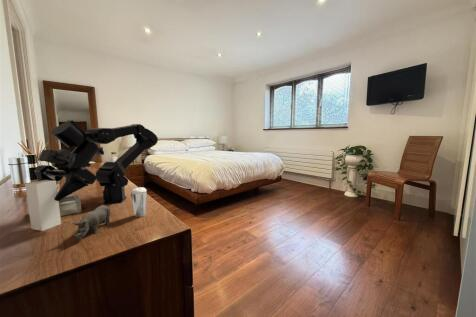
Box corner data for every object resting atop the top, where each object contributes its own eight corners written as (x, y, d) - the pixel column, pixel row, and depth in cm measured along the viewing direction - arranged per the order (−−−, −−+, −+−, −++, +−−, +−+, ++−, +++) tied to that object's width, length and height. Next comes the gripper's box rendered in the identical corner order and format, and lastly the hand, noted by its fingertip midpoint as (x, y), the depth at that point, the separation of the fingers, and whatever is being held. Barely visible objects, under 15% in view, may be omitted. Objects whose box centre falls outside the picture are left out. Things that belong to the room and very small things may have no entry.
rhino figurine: (64, 247, 46) (61, 222, 45) (101, 221, 59) (99, 202, 59) (83, 246, 46) (80, 221, 45) (115, 221, 60) (113, 202, 59)
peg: (50, 222, 59) (45, 179, 57) (61, 223, 58) (56, 180, 56) (31, 228, 55) (25, 183, 53) (42, 230, 53) (36, 184, 52)
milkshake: (133, 212, 66) (131, 183, 64) (150, 212, 66) (148, 183, 65) (127, 218, 61) (124, 187, 60) (144, 217, 61) (142, 186, 60)
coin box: (78, 204, 74) (77, 194, 74) (81, 211, 67) (80, 200, 66) (41, 211, 67) (40, 200, 67) (39, 220, 60) (38, 207, 60)
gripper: (38, 139, 61) (-9, 182, 52) (82, 139, 56) (39, 186, 47) (68, 161, 70) (32, 201, 60) (109, 163, 65) (77, 206, 55)
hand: (44, 199), depth 55 cm, fingers open, 9 cm apart
